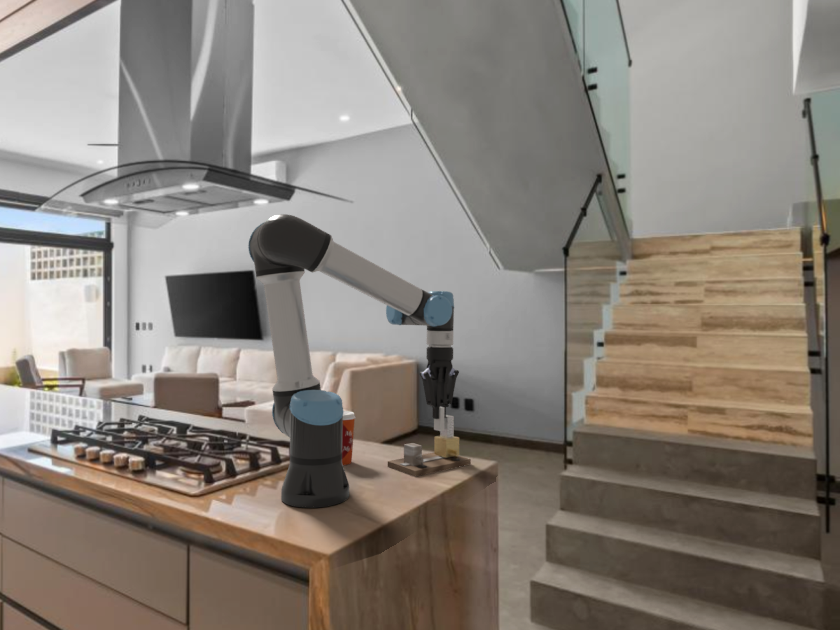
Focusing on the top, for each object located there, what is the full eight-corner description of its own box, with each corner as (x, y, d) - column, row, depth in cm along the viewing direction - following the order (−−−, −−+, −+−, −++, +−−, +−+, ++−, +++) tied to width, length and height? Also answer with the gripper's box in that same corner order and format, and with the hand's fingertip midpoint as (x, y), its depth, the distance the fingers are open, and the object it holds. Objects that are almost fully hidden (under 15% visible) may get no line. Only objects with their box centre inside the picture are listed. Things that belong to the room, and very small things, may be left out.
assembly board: (414, 476, 141) (415, 451, 141) (387, 466, 151) (387, 442, 151) (470, 464, 154) (470, 441, 154) (442, 455, 163) (442, 433, 163)
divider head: (450, 459, 151) (451, 419, 151) (434, 454, 157) (434, 415, 157) (464, 456, 154) (464, 417, 154) (447, 451, 160) (447, 413, 160)
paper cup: (353, 466, 150) (353, 415, 150) (325, 466, 150) (325, 415, 150) (357, 459, 158) (357, 410, 158) (330, 459, 158) (331, 410, 158)
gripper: (430, 347, 147) (429, 435, 147) (465, 346, 156) (465, 429, 156) (413, 346, 153) (412, 430, 153) (448, 345, 162) (447, 425, 161)
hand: (439, 430), depth 154 cm, fingers closed
